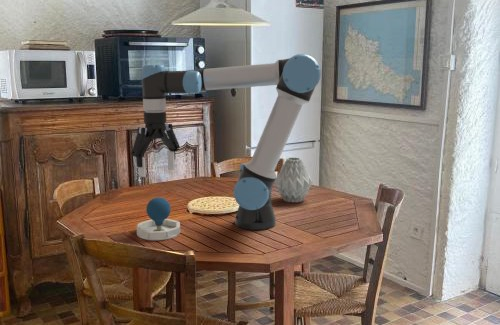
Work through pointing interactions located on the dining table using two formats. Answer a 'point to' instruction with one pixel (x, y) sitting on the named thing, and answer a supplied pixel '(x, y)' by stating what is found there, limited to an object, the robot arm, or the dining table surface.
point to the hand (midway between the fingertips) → (157, 172)
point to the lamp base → (150, 231)
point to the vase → (293, 180)
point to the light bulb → (158, 211)
